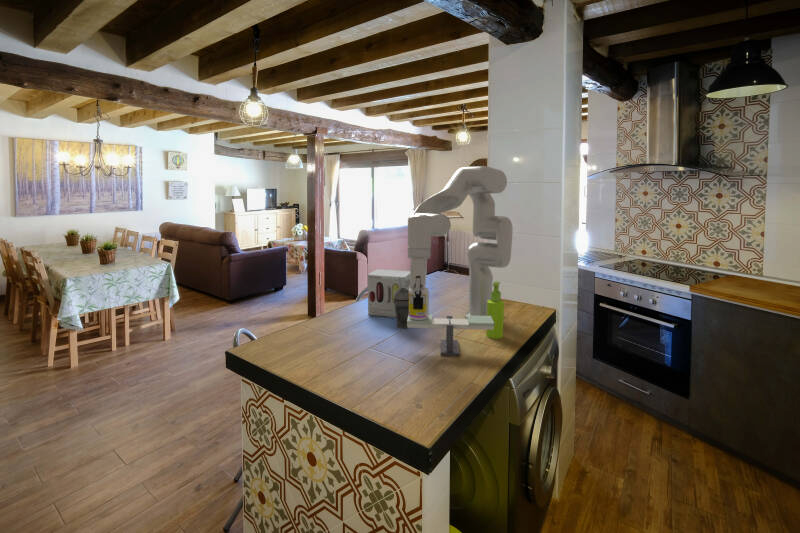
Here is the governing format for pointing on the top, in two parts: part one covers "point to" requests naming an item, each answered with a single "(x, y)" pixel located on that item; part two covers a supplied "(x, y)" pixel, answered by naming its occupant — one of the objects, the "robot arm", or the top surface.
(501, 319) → the soap dispenser
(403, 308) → the beverage cup
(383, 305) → the supplement box
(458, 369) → the top surface
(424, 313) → the supplement bottle
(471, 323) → the beam
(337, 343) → the top surface
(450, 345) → the pivot stand
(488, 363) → the top surface
